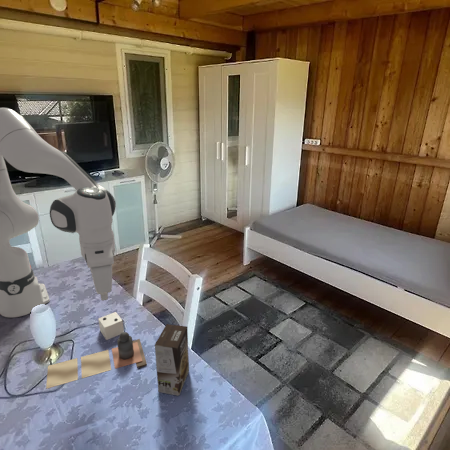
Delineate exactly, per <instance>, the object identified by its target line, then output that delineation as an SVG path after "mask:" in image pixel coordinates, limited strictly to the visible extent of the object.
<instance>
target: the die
mask: <svg viewBox="0 0 450 450" xmlns="http://www.w3.org/2000/svg"><path fill="white" fill-rule="evenodd" d="M98 326H99V331H100V332H101V334H102V335H103V337H104V339H105V340H106V341H108V340H110V339H113V338H115V337H118V336H120V334H121V333H123V332H125V331H124V322H123V319H122V318H121V316H120V315H119V314H118V313H117V312H116V311H115V312H112V313H109V314H106V315H103V316H101V317H98Z"/></svg>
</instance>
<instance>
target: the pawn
mask: <svg viewBox="0 0 450 450" xmlns="http://www.w3.org/2000/svg"><path fill="white" fill-rule="evenodd" d="M118 336H119V337H118V338H117V340H116V342H117V343H116V345H117V347H118V351H119V357H120V358H121V359H123V360H126V359H129V358H131V357H132V356H133V355H134V350H133V341H134V340H133V337H132V335H130V334H129V332H126V331H124V332H123V333H121V334H120V335H118Z"/></svg>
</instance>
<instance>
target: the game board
mask: <svg viewBox="0 0 450 450" xmlns="http://www.w3.org/2000/svg"><path fill="white" fill-rule="evenodd" d="M132 341H133V350H134V355H133V356H132V357H131V358H129V359H126V360H123V359H121V358H120V357H119V351H118V346H117V347H113V348H111V354H112V358H113V360H112V361H113V366H114V369H116V370H117V369H119V368H123V367H126V366H130V365H134V364H136V369H140V368H143V367H146V366H148V363H147V359H146V357H145V352H144V350H143V346H142V342H141V339H140V338H138V339H134V340H132ZM78 363H79V362H78V357H76V358H72V359H68V360H64V361H61V362H58V363H53V364H50V365H47V374H46V386H45V388H46V389H45V390H48V389H52V388H55V387H58V386H60V385H65V384H68V383H71V382H75V381H78V380H79V379H78V378H79V375H78V374H79V369H78V367H79V366H78ZM80 363H81V364H80V366H81V369H80V370H81V379H84V378H88V377H92V376H96V375H98V374H102V373H105V372H109V371H112V363H111V358H110V351H109V349H106V350H102V351H98V352H95V353H91V354H87V355H83V356H80Z"/></svg>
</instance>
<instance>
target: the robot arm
mask: <svg viewBox="0 0 450 450" xmlns="http://www.w3.org/2000/svg"><path fill="white" fill-rule="evenodd" d="M6 162H7V163H8V164H9V165H10V166H12V167H13V168H15V169H16V170H18V171H22V172H24V173H30V174H31V173H33V174H46V175H51V176H52V175H53V176H56V177H59V178H62V179H64V181H66V182H67V183H68V184H69V185H70V186H71V187H72V188H73V189H74V190H75V192H74V193H72V194H69V195H66V196H62V197H59V198H57V199H54V200H52V203H51V205H50V208H49V219H50V221H51V224H52V225H53V227H54V228H56V229H57V230H59V231H62V232H64V233H71V234H74V233H76V234H78V235H79V236H78V239H79V246H80V247H79V250H80V255H81V257H82V258H83V259H84V260H85V263H86V265H87V268H89V269H90V273H91V277H92V281H93V286H94V288H95V292H96V293H97V295H100V301H102V302H103V301H107V300H108V299H109V293H111V292H112V289H113V265H114V264H115V258H114V257H115V253H116V244H115V243H116V242H115V234H114V231H113V227H112V225H113V216H114V214H115V211H116V207H117V206H116V200H115V198H114V196H113V194H112V193H111V192H110V191H109V190H108V189H106V188H105V187H103V186H102V185H100V184H99V183H98V182H97V181H95V180H94V179H93V177H91V176H90V175H89V174H88V173H87V172H86V171H85V170H84V169H83V168H82V167H81V166H80V165H79V164H78V163H77V162H76V161H75V160H74V159H72V157H70V156H69V155H68V154H67V153H65V152H64V151H62V150H60V149H59V148H58V149H57V148H56V147H54V146H53V145H51V144H50V143H48V142H47V141H46V140H44V139H43V138H42V137H41V136H40V135H39V133H37V132H36V130H35V129H34V128H33V127H32V125H31V124H30V123H29V122H28V120H26V119H25V117H23V116H22V114H21V113H20V114H19V113H18V112H16V110H13V109H11V108H9V107H0V315H1V316H2V317H5V318H18V317H22V316H23V317H24V316H27V315H29V314H31V313H30V312H31V310H32V308H33V307H35V306H37V305H40V304H44V305H46V304H49V302H50V301H51V300H50V296H49V293H48V291H47V287H46V285H45V284H44V283H39V280H38V277H37V276H35V273H34V271H33V268H32V266H31V263H30V259H29V258H30V257H29V255H28V252H27V251H26V250H25V249H23V248H21V247H18V246H13V245H11V243H10V240H11V239H14V238H16V237H18V236H21V235H24V234H26V233H28V232H30V231H31V230H33V229H34V228H36V227H38V225H39V221H40V220H39V219H40V218H39V217H40V216H39V212H37V209H35V208H34V207H33V206H32V205H30V204H28V203H26V202H24V201H23V200H22V199H20V197H18V195H17V194H16V192H15V190H14V189H13V186H12V182H11V180H10V176H9V172H8V168H7V165H6Z"/></svg>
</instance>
